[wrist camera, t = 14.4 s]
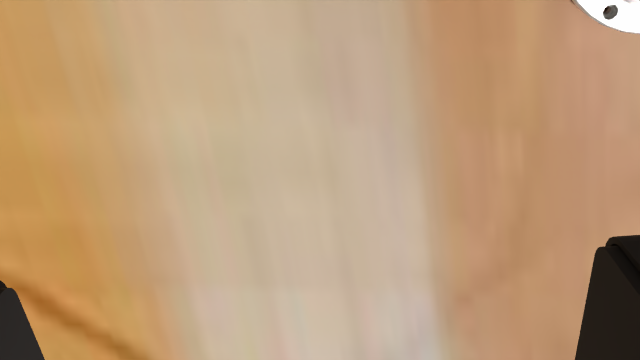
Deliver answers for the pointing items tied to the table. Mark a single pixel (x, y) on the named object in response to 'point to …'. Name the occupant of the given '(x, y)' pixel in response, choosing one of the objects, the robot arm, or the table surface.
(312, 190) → the table surface
